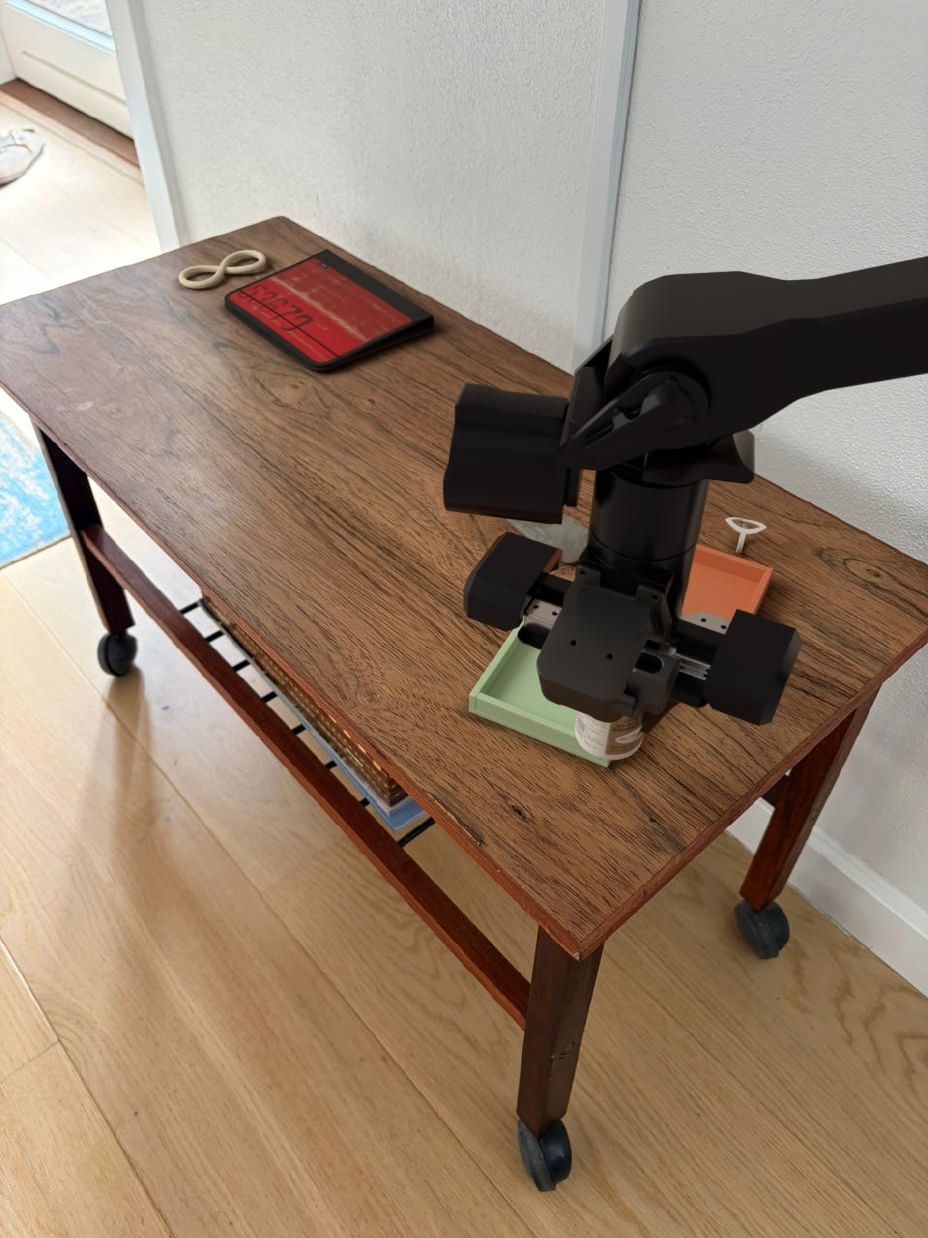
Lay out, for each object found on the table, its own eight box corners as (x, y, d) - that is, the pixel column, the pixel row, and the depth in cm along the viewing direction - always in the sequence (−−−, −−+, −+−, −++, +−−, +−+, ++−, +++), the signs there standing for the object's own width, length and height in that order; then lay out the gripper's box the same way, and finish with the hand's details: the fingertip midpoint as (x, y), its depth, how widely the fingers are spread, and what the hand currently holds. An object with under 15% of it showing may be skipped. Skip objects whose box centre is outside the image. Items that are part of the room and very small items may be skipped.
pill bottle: (620, 774, 64) (635, 693, 58) (561, 740, 66) (571, 658, 60) (655, 730, 66) (673, 648, 61) (597, 698, 68) (610, 617, 63)
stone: (604, 539, 89) (563, 562, 86) (601, 552, 90) (561, 575, 87) (512, 473, 95) (471, 493, 92) (510, 486, 96) (470, 506, 93)
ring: (737, 562, 88) (744, 535, 86) (718, 545, 90) (724, 518, 88) (760, 554, 89) (767, 527, 87) (740, 537, 91) (747, 510, 89)
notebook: (328, 246, 125) (435, 312, 114) (330, 263, 127) (436, 330, 116) (214, 291, 118) (317, 366, 107) (218, 309, 120) (320, 385, 109)
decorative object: (274, 266, 126) (254, 251, 129) (272, 258, 125) (252, 243, 128) (191, 294, 121) (172, 278, 124) (189, 286, 120) (170, 270, 123)
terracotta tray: (768, 585, 87) (774, 568, 85) (729, 672, 80) (734, 655, 78) (644, 544, 90) (647, 527, 89) (596, 624, 83) (598, 607, 82)
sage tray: (660, 665, 80) (664, 648, 79) (607, 768, 73) (610, 751, 72) (531, 618, 84) (532, 600, 82) (468, 711, 77) (468, 694, 75)
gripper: (413, 560, 51) (420, 750, 62) (778, 691, 45) (715, 875, 56) (509, 445, 58) (500, 634, 69) (836, 545, 52) (770, 735, 63)
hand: (611, 714), depth 65 cm, fingers closed on pill bottle, 4 cm apart
